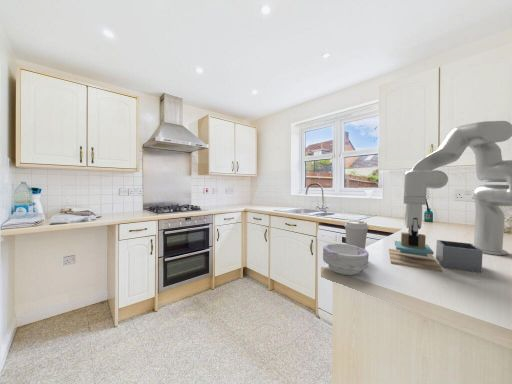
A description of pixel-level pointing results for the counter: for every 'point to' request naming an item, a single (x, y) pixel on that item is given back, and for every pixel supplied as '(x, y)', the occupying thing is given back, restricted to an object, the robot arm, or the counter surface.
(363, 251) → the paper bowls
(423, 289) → the counter surface
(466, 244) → the tin
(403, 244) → the lid
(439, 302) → the counter surface
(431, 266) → the wooden board
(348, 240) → the coffee cup
